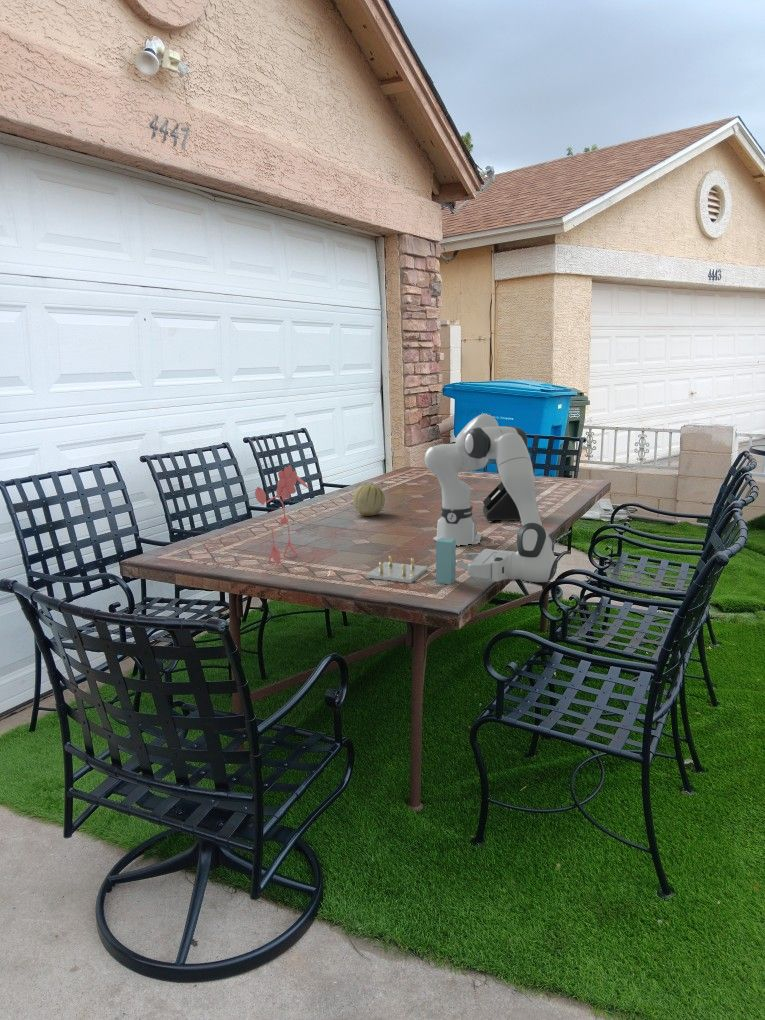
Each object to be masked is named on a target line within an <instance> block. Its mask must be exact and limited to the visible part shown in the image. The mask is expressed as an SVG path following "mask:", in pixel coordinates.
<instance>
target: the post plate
mask: <svg viewBox="0 0 765 1020" xmlns="http://www.w3.org/2000/svg"><path fill="white" fill-rule="evenodd" d="M426 570H427V571H428V566H427V565H417V564H415V558H414V557H412V558H411V559H410V564H407V563H398V562H393V555H389V556H388V561H384V562H382V561H380V562H379V565H378V566H376V567H374V569H372V570H371V571H369V572H368V573H366V574H365V578H366V579H370V578H374V579H373V580H378V579H383V580H382V581H387V580H391V581H390V582H396V581H398V583H404V582H405V584H412V583H413V582H415V581H416V580H417V579H418V578H419V577H421V576H422V575H423V574H424V573H426V572H427V571H426Z"/></svg>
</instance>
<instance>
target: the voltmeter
mask: <svg viewBox="0 0 765 1020" xmlns="http://www.w3.org/2000/svg"><path fill="white" fill-rule="evenodd" d="M482 503H483V506H482V512H483V515H484V518H485V519H486V520H487V522H488V521H493V522H494V521H499V520H501V521H503V520H505V521H506V520H507V521H510V520H511V521H512V520H513V521H514V520H515V522H516V521H518V522H517V523H520V522H522V521H521V518H520V514H519V511H518V508H517V506H516V504H515V502H514V501H513V499H512V498H511V496H510V495H509V493H508V492H507V490H506V489H505V487H504V485H503V483H502V481H501V482H500V483H499V484H498V485H496V487H495V488H494V489H493V490H492V491H491V492H490V493H489V494H488V496H486V497H485V498H484V500H483V501H482ZM519 521H520V522H519Z"/></svg>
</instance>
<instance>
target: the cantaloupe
mask: <svg viewBox="0 0 765 1020" xmlns="http://www.w3.org/2000/svg"><path fill="white" fill-rule="evenodd" d="M385 502H386V496H385V493H384V492H383V490H382V489H381V488H380V487H379V486H377V485H375V484H374V483H373V482H370V483H366V484H365V483H364V484H362V485H360V486H358V487H357V489H356V490H355V492H354V494H353V496H352V504H353V507H354V509H355V511H356V512H358V514H360V515H362V516H365V517H371V516H375V515H378V514H379V513H381V511H383V509H384V506H385Z"/></svg>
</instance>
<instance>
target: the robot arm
mask: <svg viewBox="0 0 765 1020" xmlns="http://www.w3.org/2000/svg"><path fill="white" fill-rule="evenodd" d="M528 444H529V443H528V436H527V433H526V432H525V431H524V429H522V428H521V427H516V426H511V425H506V426H503V425H502V426H501V425H500V426H499V423H498V421H497V419H496V418H495V417H494V416H492V415H491V414H488V413H483V414H479V415H476V416H475V417H473V419H471V420H470V421H469V422H467V424H466V425H465V426H464V427H463V428H462V429H461V431H460V432H459V433H458V434H457V435H456V439H455V443H442V444H441V443H440V444H437V445H432V446H430V447H428V448H427V449H426V451H425V453H424V460H423V461H424V464H425V467H426V468H427V470H428V471H429V472H431V473H432V474H434V476H435V477H436V478H437V480H438V482H439V484H440V488H441V489H440V490H441V499H442V503H441V507H440V516H441V517H440V518H439V519H437V524H436V525H437V526H436V535H435V536H434V537H433V540H432V541H435V542H436V541H437V540H438V539H440V538H452V539H456V545H457V546H456V547H461V546H460V545H466V546H469V545H468V544H472V545H479V544H478V543H481V541H480V540H482V538H481V537H483V532H480V531H477V526H478V525H477V521H476V520H475V518H474V517H473V510H474V506H473V504H472V502H471V501H472V498H471V495H472V489H471V486H470V485H469V484H468V483H466V482H465V481H464V480H461V479H459V475H458V473H460V472H461V473H462V472H473V471H476V470H480V469H483V468H485V467H486V466H487V464H488V462H489V460H495V462H496V466H497V467H496V468H497V472H498V475H499V478H500V481H501V482H502V483H503V485H504V487H505V489H506V490H507V492H508V493H509V495H510V496H511V498H512V499H513V501H514V502H515V504H516V506H517V508H518V511H519V514H520V518H521V521H520V522H521V524H522V526H520V528H519V530H518V531H517V534H516V545H517V547H516V548H517V551H514V550H513V551H512V550H502V549H500V550H498V549H490V548H483V550H481V551H480V552H474V553H470V552H469V553H466V554H465V560H468V561H470V562H465V561H461V560H459V561H457V562H456V567H457V568H458V569H459V568H460V569H464V570H465V571H467V575H468V576H470V577H472V578H478V579H483V580H491V581H492V582H495V583H496V582H497V583H498V582H500V581H503V580H522V581H525V582H532V583H533V582H534V583H546V582H549V581H551V580H553V579H554V577H555V575H556V572H557V568H558V562H559V561H558V559H557V557H556V556H555V554H554V551H555V544H554V543H555V542H554V541H553V539H552V538H551V537H550V535H549V533H548V532H547V530H546V529H545V528H544V526H543V523H542V518H541V514H540V511H539V507H538V504H537V496H536V488H535V487H536V486H535V475H534V468H533V463H532V460H531V456H530V452H529V450H528ZM471 560H472V561H471Z"/></svg>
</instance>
